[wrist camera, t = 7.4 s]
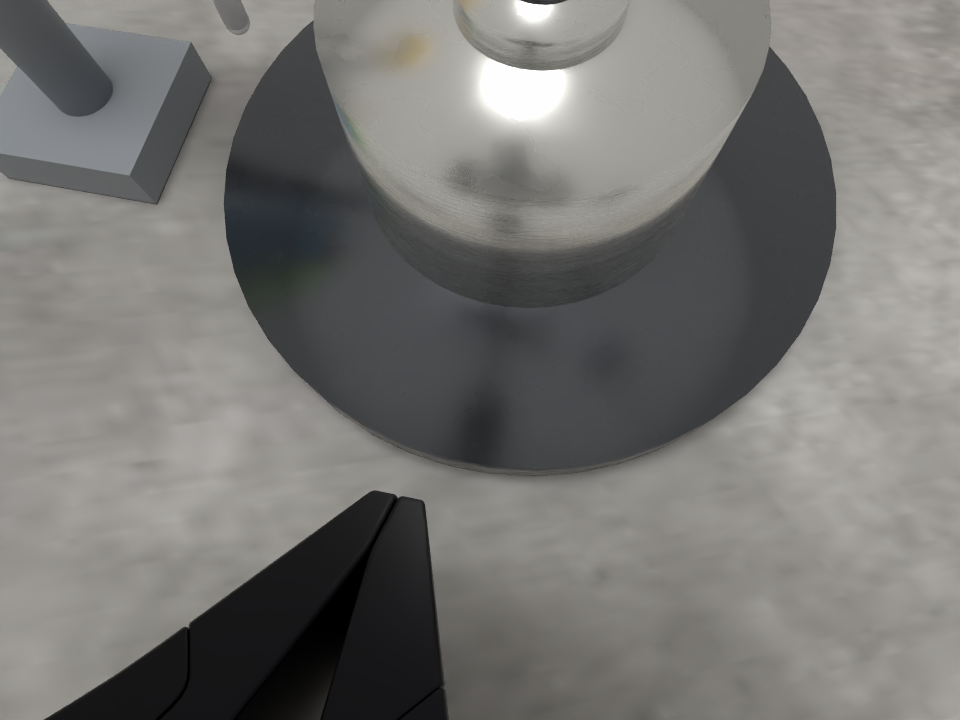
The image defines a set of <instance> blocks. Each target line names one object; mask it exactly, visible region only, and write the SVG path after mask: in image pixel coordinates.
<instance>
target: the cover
mask: <svg viewBox="0 0 960 720" xmlns="http://www.w3.org/2000/svg"><path fill="white" fill-rule="evenodd" d="M313 28H314V35H315V43H316V50H317V53H318V57H319V60H320V63H321V66H322V69H323V73H324V75H325V78H326V81H327V84H328V87H329V90H330V93H331V96H332V99H333V101H334V104H335V107H336V110H337V113H338V116H339V119H340V122H341V125H342V127H343V130H344V133H345V136H346V139H347V142H348V145H349V148H350V150H351V153H352V156H353V159H354V162H355V165H356V168H357V171H358V174H359V176H360V179H361V182H362V185H363V188H364V191H365V194H366V197H367V200H368V202H369V205H370V208H371V211H372V214H373V216H374V218H375V220H376V222H377V224H378V226H379V228H380V230H381V232H382V233H383V234H384V236H385V237H386V239H387V240H388V242H389V243H390V245H391V246H392V247H393V248H394V249H395V251H396V252H397V253H398V254H399V255H400V256H401V257H402V258H403V259H404V260H405V261H406V262H407V263H408V264H409V265H410V266H412V267H413V268H414V269H415V270H417V271H418V272H419V273H420V274H421V275H423V276H424V277H426V278H428V279H429V280H431V281H433V282H434V283H436V284H437V285H439V286H441V287H443V288H445V289H447V290H449V291H452V292H454V293H456V294H458V295H460V296H463V297H466V298H470V299H473V300H476V301H479V302H482V303H488V304H493V305H499V306H504V307H517V308H541V307H554V306H560V305H565V304H571V303H576V302H579V301H582V300H585V299H588V298H592V297H595V296H598V295H600V294H602V293H604V292H606V291H608V290H611V289H613V288H615V287H617V286H619V285H620V284H622V283H623V282H625V281H627V280H628V279H630V278H631V277H633V276H634V275H636V274H637V273H638V272H640V271H641V270H642V269H643V268H644V267H645V266H647V265H648V264H649V263H650V262H651V261H652V260H653V259H654V258H655V257H656V256H657V255H658V254H659V252H660V251H661V250H662V249H663V248H664V247H665V246H666V244H667V243H668V241H669V239H670V238H671V236H672V235H673V233H674V232H675V230H676V229H677V227H678V225H679V223H680V222H681V220H682V218H683V216H684V214H685V213H686V211H687V209H688V207H689V206H690V204H691V202H692V200H693V198H694V197H695V195H696V193H697V191H698V190H699V188H700V186H701V184H702V182H703V181H704V179H705V177H706V175H707V174H708V172H709V170H710V168H711V166H712V165H713V163H714V161H715V159H716V158H717V156H718V154H719V152H720V150H721V149H722V147H723V145H724V143H725V141H726V140H727V138H728V136H729V134H730V133H731V131H732V129H733V127H734V125H735V124H736V122H737V120H738V118H739V117H740V115H741V113H742V111H743V109H744V108H745V106H746V104H747V102H748V101H749V99H750V97H751V95H752V93H753V92H754V90H755V87H756V85H757V83H758V80H759V78H760V76H761V74H762V71H763V69H764V66H765V62H766V58H767V54H768V50H769V45H770V31H771V17H770V8H769V0H315V4H314V24H313Z"/></svg>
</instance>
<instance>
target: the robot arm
mask: <svg viewBox="0 0 960 720" xmlns="http://www.w3.org/2000/svg"><path fill="white" fill-rule="evenodd" d="M444 686H445V682H444V673H443V664H442V655H441V646H440V637H439V628H438V619H437V610H436V601H435V591H434V582H433V573H432V564H431V555H430V546H429V537H428V528H427V519H426V510H425V503H424V502H423V501H422V500H418V499H414V498H409V497H404V496H401V497H399V498H397V496H396V495H394V494H390V493H385V492H380V491H371V492H369V493H368V494H366V495H365V496H364V497H362V498H361V499H360V500H358V501H357V502H355V503H354V504H353V505H351V506H350V507H349V508H347V509H346V510H344V511H343V512H342V513H340V514H339V515H338V516H336V517H335V518H333V519H332V520H331V521H329V522H328V523H327V524H325V525H324V526H322V527H321V528H320V529H318V530H317V531H316V532H314V533H313V534H311V535H310V536H309V537H307V538H306V539H305V540H303V541H302V542H300V543H299V544H298V545H296V546H295V547H294V548H292V549H291V550H289V551H288V552H287V553H285V554H284V555H283V556H281V557H280V558H278V559H277V560H276V561H274V562H273V563H272V564H270V565H269V566H267V567H266V568H265V569H263V570H262V571H261V572H259V573H258V574H256V575H255V576H254V577H252V578H251V579H250V580H248V581H247V582H245V583H244V584H243V585H241V586H240V587H239V588H237V589H236V590H234V591H233V592H232V593H230V594H229V595H228V596H226V597H225V598H223V599H222V600H221V601H219V602H218V603H216V604H215V605H214V606H212V607H211V608H210V609H208V610H207V611H205V612H204V613H203V614H201V615H200V616H199V617H197V618H196V619H194V620H193V621H192V622H190V624H189V629H188V628H187V627H183V628H182V629H180V630H179V631H178V632H176V633H175V634H173V635H172V636H171V637H169V638H168V639H167V640H165V641H164V642H162V643H161V644H160V645H158V646H157V647H155V648H154V649H153V650H151V651H150V652H148V653H147V654H145V655H144V656H142V657H141V658H140V659H138V660H137V661H135V662H134V663H132V664H131V665H129V666H128V667H127V668H125V669H124V670H122V671H121V672H119V673H118V674H116V675H115V676H113V677H112V678H110V679H108V680H107V681H105V682H104V683H102V684H101V685H99V686H97V687H96V688H94V689H93V690H91V691H89V692H88V693H86V694H85V695H83V696H82V697H80V698H78V699H77V700H75V701H74V702H72V703H71V704H69V705H67V706H66V707H64V708H62V709H61V710H59V711H57V712H56V713H54V714H52V715H51V716H49V717H48V718H46V719H44V720H449V717H448V707H447V698H446V691H445V689H444Z"/></svg>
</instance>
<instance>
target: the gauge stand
mask: <svg viewBox="0 0 960 720" xmlns="http://www.w3.org/2000/svg"><path fill="white" fill-rule="evenodd" d="M213 2H214V4H215V6H216V8H217V10H218V12H219V14H220V16H221V18H222V20H223V22H224V24H225V26H226V27H227V29H228V30H229V31H230V32H232V33H233V34H236V35H242V34H244V33H246V32H247V31H248V29H249V26H250V21H249V18H248V15H247V13H246V11H245V9H244V6H243V4H242V2H241V0H213ZM0 48H1V49H2V50H3V51H4V52H5V53H6V54H7V56H8V57H9V58H10V59H11V60H12V61H13V62H14V63H15V64H16V65H17V68H16V70H15V71H14V73H13V75H12V77H11V79H10V80H9V82H8V84H7V86H6V87H5V89H4V91H3V93H2V94H1V96H0V172H2V173H3V174H4V175H5V176H7V177H8V178H11V179H17V180H23V181H29V182H34V183H40V184H46V185H51V186H57V187H63V188H68V189H74V190H80V191H86V192H91V193H97V194H103V195H108V196H114V197H120V198H126V199H131V200H137V201H143V202H148V203H154V204H157V201H158V199H159V197H160V195H161V192H162V190H163V188H164V185H165V183H166V181H167V178H168V176H169V174H170V172H171V169H172V167H173V165H174V162H175V160H176V158H177V156H178V153H179V151H180V149H181V146H182V144H183V142H184V140H185V137H186V135H187V133H188V130H189V128H190V126H191V123H192V121H193V119H194V117H195V114H196V112H197V110H198V107H199V105H200V103H201V101H202V98H203V96H204V94H205V91H206V89H207V87H208V85H209V82H210V80H211V78H212V77H211V75H210V74H209V72H208V70H207V69H206V67H205V65H204V63H203V62H202V60H201V58H200V57H199V55H198V53H197V51H196V50H195V48H194V46H193V45H192V43H191V42H187V41H181V40H174V39H167V38H161V37H154V36H147V35H141V34H134V33H128V32H121V31H114V30H108V29H101V28H94V27H88V26H81V25H74V24H68V23H65V22H64V21H63V20H62V19H61V17H60V16H59V15H58V14H57V12H56V11H55V10H54V9H53V7H52V6H51V5H50V4H49V2H48V1H47V0H0Z"/></svg>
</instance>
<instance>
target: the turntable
mask: <svg viewBox="0 0 960 720" xmlns="http://www.w3.org/2000/svg"><path fill="white" fill-rule="evenodd" d="M313 24H314V20H313V21H312V22H311V23H310V24H308V25H307V26H306V27H305V28H304V29H303V30H302V31H301V32H300V33H299V34H298V35H297V36H296V37H295V38H294V39H293V40H292V41H291V42H290V43H289V44H288V45H287V46H286V47H285V48H284V50H283V51H282V52H281V53H280V54H279V56H278V57H277V58H276V60H275V61H274V62H273V64H272V65H271V66H270V68H269V69H268V70H267V72H266V73H265V74H264V76H263V77H262V79H261V80H260V82H259V84H258V86H257V87H256V89H255V91H254V93H253V95H252V96H251V98H250V100H249V102H248V104H247V105H246V107H245V110H244V113H243V115H242V118H241V120H240V123H239V125H238V128H237V131H236V133H235V136H234V139H233V143H232V148H231V152H230V156H229V161H228V165H227V169H226V182H225V195H224V212H225V225H226V238H227V242H228V246H229V250H230V255H231V259H232V263H233V267H234V272H235V274H236V277H237V279H238V282H239V284H240V287H241V289H242V292H243V294H244V297H245V299H246V301H247V304H248V306H249V308H250V310H251V311H252V313H253V315H254V316H255V318H256V320H257V321H258V323H259V325H260V326H261V328H262V330H263V331H264V333H265V335H266V336H267V338H268V340H269V341H270V342H271V343H272V345H273V346H274V347H275V348H276V349H277V351H278V352H279V353H280V354H281V356H282V357H283V358H284V359H285V360H286V362H287V363H288V364H289V365H290V366H291V368H292V369H293V370H294V371H295V372H296V373H297V374H298V375H299V376H300V377H301V378H302V379H303V380H304V381H306V382H307V383H308V384H309V385H310V386H311V387H312V388H313V389H314V390H315V391H316V392H317V393H319V394H320V395H321V396H322V397H323V398H324V399H325V400H326V401H327V402H329V403H330V404H331V405H332V406H333V407H334V408H335V409H336V410H337V411H338V412H340V413H341V414H343V415H344V416H346V417H347V418H349V419H350V420H352V421H353V422H355V423H356V424H358V425H359V426H361V427H362V428H364V429H365V430H366V431H368V432H369V433H371V434H373V435H375V436H377V437H379V438H381V439H383V440H385V441H387V442H389V443H391V444H393V445H395V446H397V447H399V448H401V449H403V450H405V451H407V452H409V453H412V454H415V455H418V456H421V457H424V458H427V459H430V460H433V461H436V462H439V463H442V464H445V465H448V466H454V467H459V468H464V469H469V470H474V471H480V472H485V473H490V474H507V475H524V476H540V475H554V474H567V473H578V472H582V471H587V470H592V469H597V468H601V467H606V466H611V465H615V464H619V463H622V462H625V461H628V460H630V459H633V458H636V457H639V456H642V455H644V454H647V453H650V452H653V451H655V450H658V449H660V448H662V447H664V446H666V445H667V444H669V443H671V442H673V441H675V440H677V439H679V438H681V437H683V436H685V435H686V434H688V433H690V432H692V431H694V430H696V429H697V428H699V427H700V426H702V425H704V424H705V423H707V422H708V421H710V420H712V419H713V418H714V417H716V416H717V415H719V414H720V413H721V412H723V411H724V410H725V409H727V408H728V407H730V406H731V405H732V404H734V403H735V402H736V401H738V400H739V399H741V398H742V397H743V396H745V395H746V394H747V393H748V392H749V391H750V390H752V389H753V388H754V387H755V386H756V385H757V384H758V383H759V382H760V381H761V380H762V379H763V378H764V377H765V376H766V375H767V374H768V373H769V372H770V371H771V370H772V369H773V368H774V367H775V366H776V365H777V364H778V362H779V361H780V360H781V358H782V357H783V356H784V354H785V353H786V352H787V350H788V349H789V348H790V346H791V345H792V344H793V342H794V341H795V340H796V338H797V337H798V336H799V334H800V333H801V331H802V329H803V327H804V325H805V323H806V322H807V320H808V318H809V316H810V314H811V312H812V310H813V308H814V306H815V304H816V302H817V301H818V298H819V296H820V293H821V290H822V287H823V284H824V281H825V278H826V275H827V272H828V269H829V266H830V261H831V255H832V249H833V243H834V237H835V231H836V190H835V183H834V177H833V170H832V164H831V158H830V155H829V152H828V149H827V145H826V142H825V139H824V136H823V133H822V129H821V126H820V124H819V122H818V120H817V118H816V116H815V114H814V112H813V110H812V107H811V105H810V103H809V101H808V99H807V97H806V95H805V94H804V92H803V91H802V89H801V87H800V86H799V84H798V83H797V81H796V80H795V78H794V77H793V75H792V74H791V72H790V71H789V69H788V68H787V66H786V65H785V64H784V63H783V62H782V61H781V59H780V58H779V57H778V56H777V55H776V54H775V52H774V51H773V50H772V49H771V48H770V47H769V50H768V54H767V58H766V62H765V66H764V69H763V71H762V74H761V76H760V78H759V80H758V83H757V85H756V87H755V90H754V92H753V93H752V95H751V97H750V99H749V101H748V102H747V104H746V106H745V108H744V109H743V111H742V113H741V115H740V117H739V118H738V120H737V122H736V124H735V125H734V127H733V129H732V131H731V133H730V134H729V136H728V138H727V140H726V141H725V143H724V145H723V147H722V149H721V150H720V152H719V154H718V156H717V158H716V159H715V161H714V163H713V165H712V166H711V168H710V170H709V172H708V174H707V175H706V177H705V179H704V181H703V182H702V184H701V186H700V188H699V190H698V191H697V193H696V195H695V197H694V198H693V200H692V202H691V204H690V206H689V207H688V209H687V211H686V213H685V214H684V216H683V218H682V220H681V222H680V223H679V225H678V227H677V229H676V230H675V232H674V233H673V235H672V236H671V238H670V239H669V241H668V243H667V244H666V246H665V247H664V248H663V249H662V250H661V251H660V252H659V254H658V255H657V256H656V257H655V258H654V259H653V260H652V261H651V262H650V263H649V264H648V265H647V266H645V267H644V268H643V269H642V270H641V271H640V272H638V273H637V274H636V275H634V276H633V277H631V278H630V279H628V280H627V281H625V282H623V283H622V284H620V285H619V286H617V287H615V288H613V289H611V290H608V291H606V292H604V293H602V294H600V295H598V296H595V297H592V298H588V299H585V300H582V301H579V302H576V303H571V304H565V305H560V306H554V307H541V308H517V307H504V306H499V305H493V304H488V303H482V302H479V301H476V300H473V299H470V298H466V297H463V296H460V295H458V294H456V293H454V292H452V291H449V290H447V289H445V288H443V287H441V286H439V285H437V284H436V283H434V282H433V281H431V280H429V279H428V278H426V277H424V276H423V275H421V274H420V273H419V272H418V271H417V270H415V269H414V268H413V267H412V266H410V265H409V264H408V263H407V262H406V261H405V260H404V259H403V258H402V257H401V256H400V255H399V254H398V253H397V252H396V251H395V249H394V248H393V247H392V246H391V245H390V243H389V242H388V240H387V239H386V237H385V236H384V234H383V233H382V232H381V230H380V228H379V226H378V224H377V222H376V220H375V218H374V216H373V214H372V211H371V208H370V205H369V202H368V200H367V197H366V194H365V191H364V188H363V185H362V182H361V179H360V176H359V174H358V171H357V168H356V165H355V162H354V159H353V156H352V153H351V150H350V148H349V145H348V142H347V139H346V136H345V133H344V130H343V127H342V125H341V122H340V119H339V116H338V113H337V110H336V107H335V104H334V101H333V99H332V96H331V93H330V90H329V87H328V84H327V81H326V78H325V75H324V73H323V69H322V66H321V63H320V60H319V57H318V53H317V50H316V43H315V35H314V28H313Z"/></svg>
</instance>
